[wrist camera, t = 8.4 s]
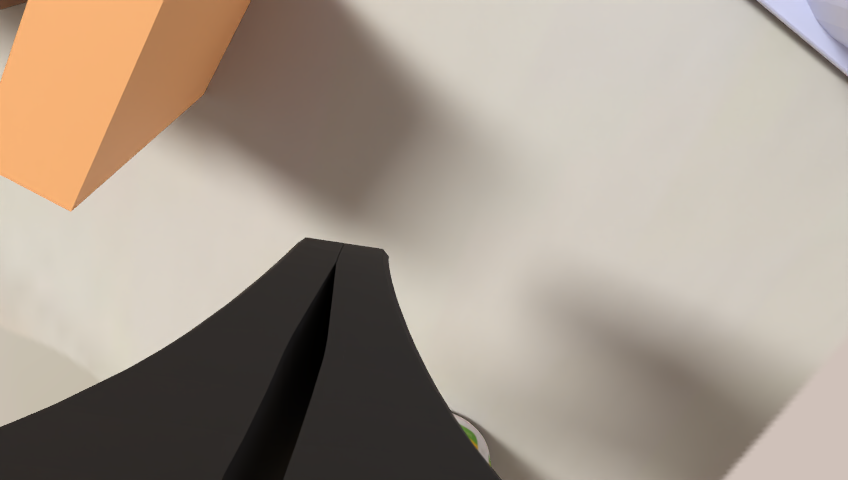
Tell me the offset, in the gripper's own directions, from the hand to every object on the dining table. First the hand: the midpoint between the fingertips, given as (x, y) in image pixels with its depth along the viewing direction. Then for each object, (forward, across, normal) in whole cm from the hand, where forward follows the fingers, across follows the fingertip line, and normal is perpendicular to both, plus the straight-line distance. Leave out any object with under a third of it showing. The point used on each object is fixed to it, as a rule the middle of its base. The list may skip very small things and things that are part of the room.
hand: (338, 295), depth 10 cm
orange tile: (+9, +5, -2) cm, 11 cm away
